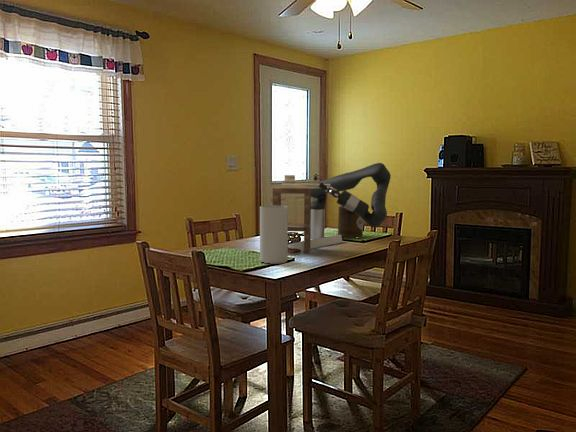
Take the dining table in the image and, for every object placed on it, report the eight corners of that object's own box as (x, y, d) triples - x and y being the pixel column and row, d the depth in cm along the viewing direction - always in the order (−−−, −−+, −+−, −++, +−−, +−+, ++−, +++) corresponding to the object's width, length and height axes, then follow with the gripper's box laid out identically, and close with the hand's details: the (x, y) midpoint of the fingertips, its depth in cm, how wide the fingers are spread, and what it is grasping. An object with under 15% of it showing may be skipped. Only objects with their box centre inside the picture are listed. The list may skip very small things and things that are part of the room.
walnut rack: (276, 247, 270) (276, 186, 267) (310, 248, 269) (310, 186, 265) (272, 253, 254) (272, 188, 251) (309, 253, 253) (309, 188, 249)
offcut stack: (283, 186, 265) (283, 175, 264) (295, 186, 264) (295, 175, 264) (282, 187, 260) (282, 175, 260) (294, 187, 260) (294, 175, 259)
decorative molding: (289, 253, 270) (303, 250, 263) (287, 244, 270) (301, 241, 263) (329, 245, 295) (342, 242, 288) (327, 237, 295) (341, 234, 288)
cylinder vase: (269, 257, 242) (269, 204, 239) (292, 260, 235) (292, 206, 233) (254, 262, 231) (254, 207, 228) (278, 265, 225) (278, 208, 222)
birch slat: (282, 187, 258) (282, 183, 257) (330, 188, 256) (330, 183, 255) (281, 188, 253) (281, 184, 253) (330, 188, 251) (330, 184, 251)
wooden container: (364, 238, 301) (365, 201, 298) (338, 238, 301) (339, 201, 299) (361, 235, 316) (361, 199, 313) (336, 235, 316) (337, 199, 313)
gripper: (351, 193, 260) (323, 177, 260) (352, 195, 246) (323, 178, 246) (344, 206, 261) (316, 189, 261) (344, 208, 247) (315, 191, 247)
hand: (319, 184), depth 254 cm, fingers open, 8 cm apart
